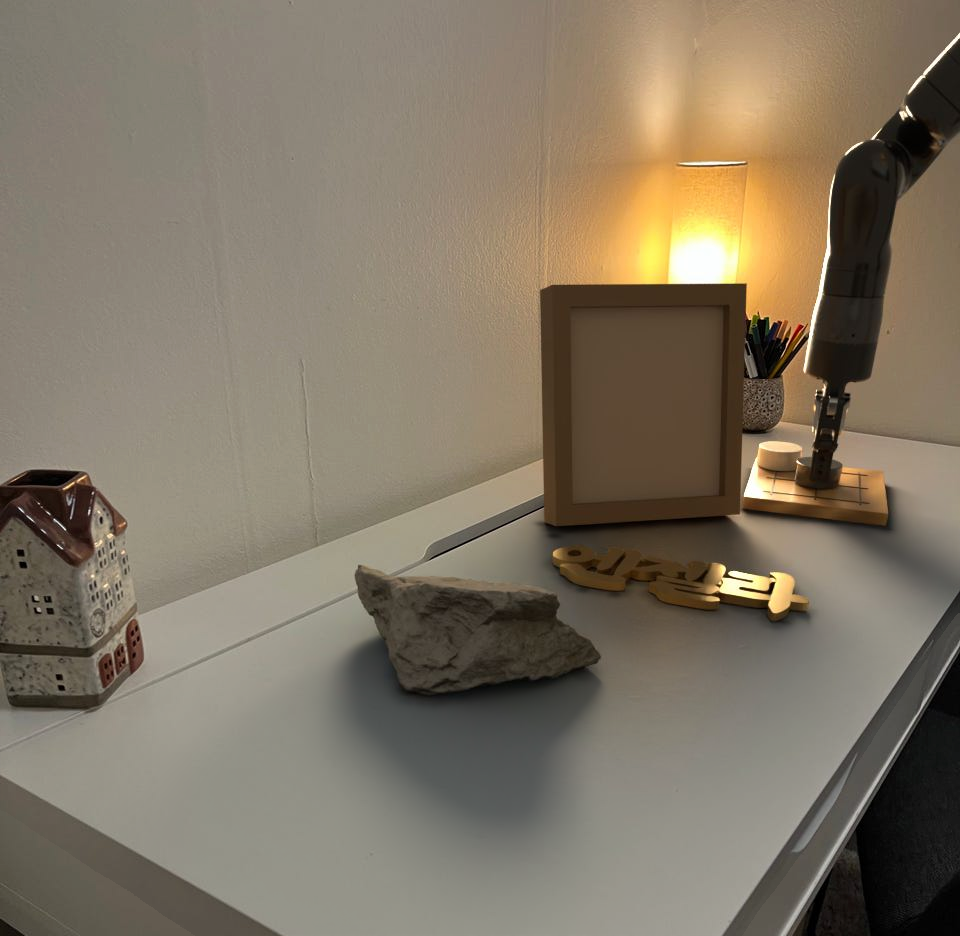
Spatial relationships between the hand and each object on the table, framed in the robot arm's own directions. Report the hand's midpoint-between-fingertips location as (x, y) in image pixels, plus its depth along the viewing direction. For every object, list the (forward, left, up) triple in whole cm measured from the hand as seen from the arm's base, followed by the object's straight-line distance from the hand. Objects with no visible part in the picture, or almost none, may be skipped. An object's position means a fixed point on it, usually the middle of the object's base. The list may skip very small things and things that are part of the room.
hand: (818, 472), depth 117 cm
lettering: (+12, +35, -3) cm, 37 cm away
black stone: (0, 0, -1) cm, 1 cm away
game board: (0, 0, -3) cm, 3 cm away
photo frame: (+21, +14, -3) cm, 25 cm away
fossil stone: (+26, +57, -3) cm, 63 cm away
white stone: (+5, -6, -1) cm, 8 cm away
